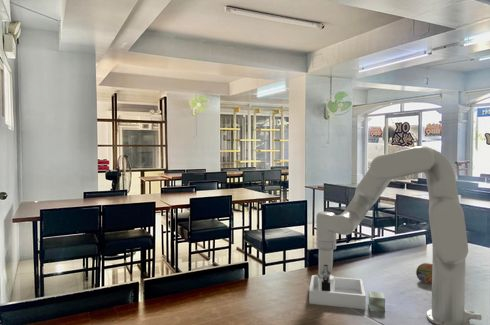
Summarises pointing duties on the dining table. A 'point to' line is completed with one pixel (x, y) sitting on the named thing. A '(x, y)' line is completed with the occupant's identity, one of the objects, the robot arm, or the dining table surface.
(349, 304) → the tote
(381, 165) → the robot arm
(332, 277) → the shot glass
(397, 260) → the dining table surface
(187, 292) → the dining table surface
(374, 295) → the cube
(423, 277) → the tin
